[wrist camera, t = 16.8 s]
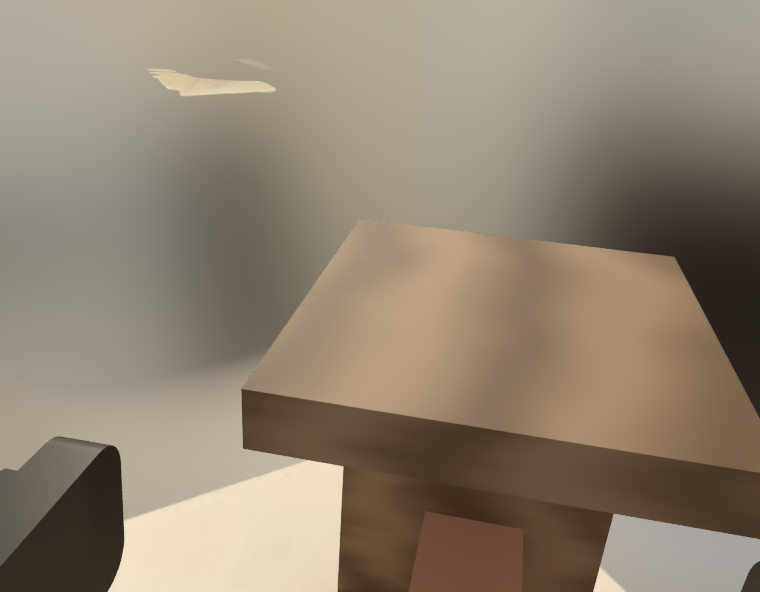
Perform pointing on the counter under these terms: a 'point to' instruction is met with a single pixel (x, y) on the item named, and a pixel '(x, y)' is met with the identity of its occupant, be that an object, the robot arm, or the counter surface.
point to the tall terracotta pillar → (467, 556)
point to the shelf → (506, 399)
